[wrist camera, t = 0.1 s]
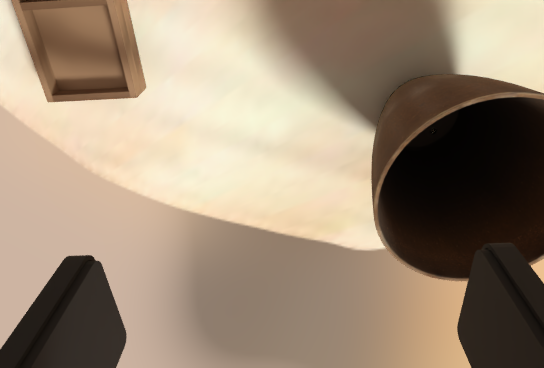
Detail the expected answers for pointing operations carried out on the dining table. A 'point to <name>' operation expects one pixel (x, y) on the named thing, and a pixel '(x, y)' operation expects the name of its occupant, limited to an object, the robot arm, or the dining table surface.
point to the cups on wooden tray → (82, 48)
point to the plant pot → (459, 172)
